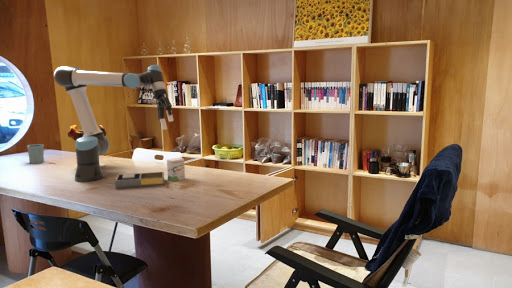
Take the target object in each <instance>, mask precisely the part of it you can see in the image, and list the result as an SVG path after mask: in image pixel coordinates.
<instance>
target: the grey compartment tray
mask: <svg viewBox="0 0 512 288" xmlns="http://www.w3.org/2000/svg"><path fill="white" fill-rule="evenodd" d="M114 182H115V183H114V185H115V190H123V189H136V188H149V187H151V188H152V187H164V186H165V173H164V171H156V172H140V173H139V172H138V173H135V172H131V173H123V174H117V176H116V178H115V181H114Z"/></svg>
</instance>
